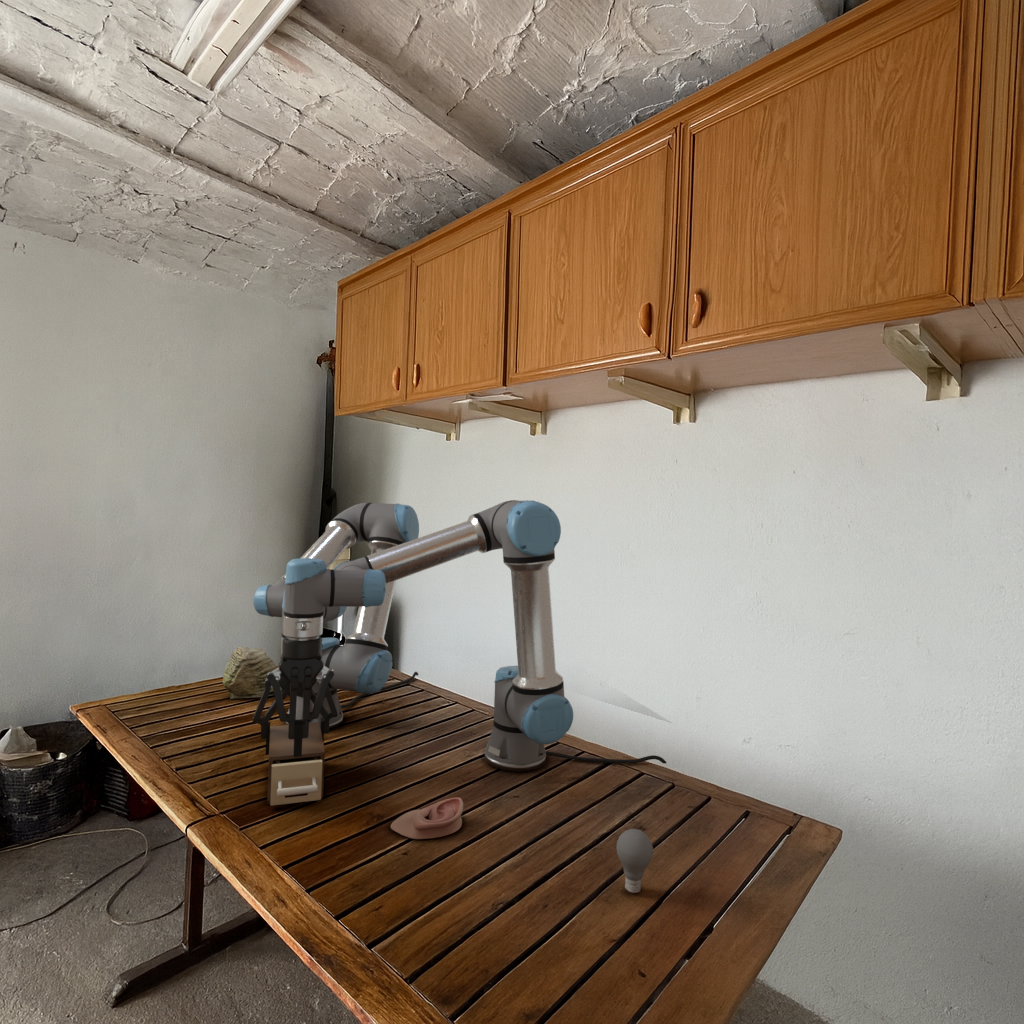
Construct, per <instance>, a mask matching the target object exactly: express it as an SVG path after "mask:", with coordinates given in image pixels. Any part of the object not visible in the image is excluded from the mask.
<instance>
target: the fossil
mask: <svg viewBox="0 0 1024 1024" xmlns="http://www.w3.org/2000/svg"><path fill="white" fill-rule="evenodd" d="M276 668H277V665H276V663H275V662H274V660H273V659H272V658H271V657H270V656H269V655H268V654H267V653H266V652H265V650H264V649H263V648H260V647H258V648H251V647H247V646H246V647H245V646H238V647H237V648H236V649H235V650H233V651H232V653H231V656H230V657H229V659H228V660H227V663H226V666H225V668H224V671H223V675H222V676H223V677H222V685H223V687H224V688H225V690H226V691H228V693H229V698H230V699H250V698H261V696H262V694H263V692H264V689H265V680H266V678H267V673H268V672H269V671H273V670H275V669H276ZM280 689H281V690H282V688H281V687H280ZM271 696H274V691H273V689H271V691H270V694H269V697H271Z"/></svg>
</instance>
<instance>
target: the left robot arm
mask: <svg viewBox="0 0 1024 1024" xmlns="http://www.w3.org/2000/svg"><path fill="white" fill-rule="evenodd" d="M324 530H325V531H324V532H323V533H322V535H321V536H320V537H319V538H318V539H317V540H316V541H315V542H313V544H312V545H311V546H310V547H309V548H308V549H307V550H306V551H305V552H304V554H302V556H300V558H311V559H321V560H324V561H325V563H326V569H330V568H331V567H332V565H333V564H334V563H335V562H336V561H337V560H338V558H339V557H340V556H341V555H342V554H343V553H344V552H345V551H346V550H348V549H351V548H353V547H354V546H355V544H357V543H361V542H367V547H368V548H369V549H370V551H371V552H370V555H371V554H374V553H377V552H380V551H382V550H385V549H388V548H391V547H394V546H397V545H400V544H403V543H406V542H408V541H411V540H414V539H417V538H419V535H420V523H419V518H418V515H417V512H416V510H415V509H414V507H412V506H411V505H408V504H402V503H384V502H383V503H382V502H361V503H357V504H354V505H352V506H349V507H348V508H346V509H344V510H343V511H341V512H339V513H338V514H337V515H336V516H334V518H332V519H331V520H330V521H329V522H328V523H327V525H326V526H325V529H324ZM285 578H286V572H285V573H284V574H283V575H282V576H281V577H280V579H278V581H276V582H275V584H273V585H272V584H266V585H265V584H264V585H261V586H259V587H258V588H257V589H256V591H255V592H254V594H253V599H252V600H253V601H252V604H253V607H254V610H255V612H256V613H258V614H259V615H262V616H268V617H271V618H282V619H281V622H282V623H281V626H282V627H281V637H280V639H281V640H280V654H281V655H282V643H283V639H284V638H285V636H284V635H283V620H284V598H285ZM396 581H397V580H396ZM396 581H393V582H390V583H387V584H386V593H385V599H384V602H383V604H382V605H380V606H369V607H357V608H358V609H357V612H356V613H357V614H356V617H355V622H354V626H353V630H352V633H351V634H350V635H348V636H347V637H346V638H345V642H344V645H340V644H341V643H340V642H341V641H340V639H339V638H337V637H321V638H322V661H323V663H324V666H326V667H327V668H329V669H330V668H331V669H333V671H334V676H333V678H332V679H331V680H330V682H329V684H328V687H327V690H326V694H325V697H324V701H323V704H322V707H321V711H320V714H319V717H318V718H317V719H313V720H311V721H310V722H309V723H320V728H321V733H322V739H323V745H324V743H325V735H327V734H329V732H330V730H332V729H335V728H337V727H339V726H340V725H342V723H343V722H344V714H343V709H345V708H349V707H350V706H352V705H353V704H354V703H355V702H356V701H357V700H359V699H361V698H363V697H365V696H369V695H372V694H376V693H378V692H381V691H385V690H389V689H392V688H396V687H398V686H401V685H404V684H407V683H409V682H410V681H412V680H414V679H415V677H416V676H419V672H418V671H414V672H413V674H412V675H411V677H409V678H406V679H405V680H402V681H400V682H396V683H392V684H390V685H389V684H388V685H386V684H387V682H388V681H389V678H390V676H391V673H392V669H393V655H392V653H391V652H390V651H388V647H389V644H388V643H387V642H386V640H385V635H386V630H387V626H388V620H389V615H390V611H391V606H392V603H393V602H392V601H393V597H394V592H395V587H396ZM346 610H347V606H332V607H324V609H323V623H326V622H332V621H334V620H336V619H337V618H340V617H342V616H343V615H344V614H345V612H346ZM281 660H282V656H280V661H281ZM321 673H322V671H320V673H319V674H318V675H317V677H316V678H315V679H314V680H313V681H312V682H311V692H310V712H311V711H312V710H313V707H314V704H315V700H316V697H317V693H318V690H319V687H320V683H321V680H322V676H321ZM278 681H279V684H280V687H281V688H282V690H281V693H282V698H283V701H285V699H286V698H287V697H290V683H289V682H288V681H287V679H286V678H285V677H284V675H283V674H282V673H280V680H278ZM385 685H386V686H385ZM271 689H273V687H272V685H271V683H270V682H269V681H268V679H267V678H266V680H265V689H264V692H263V694H262V696H261V697H260V699H259V702H258V704H257V706H256V708H255V711H254V714H253V716H252V723H253V724H259V725H260V739H261V740H265V755H266V756H267V755H268V756H269V743H270V726H271V721H270V720H271V718H272V717H273V716H274V714H275V713H276V712H277V711H278V710H277V705H276V701H275V700H274V701H273V702H271V705H270V706H269V707H268V709H267V710H266V712H265V713H264V714H263V716H262V713H263V711H264V708H265V706H266V704H267V701H268V699H269V697H270V696H269V694H270V691H271ZM338 690H339V691H340V690H341V691H347V692H354V693H357V694H358V693H359V694H358V695H357V696H355V697H354V698H352V700H351V701H349V702H348V703H346V704H345V703H344V704H341V702H340V699H339V695H338ZM303 694H304V684H302V683H300V684H297V701H296V720H300V719H303ZM287 713H288V714H289V709H288V711H287ZM285 725H289V724H288V723H287V722H285ZM324 746H325V745H324Z"/></svg>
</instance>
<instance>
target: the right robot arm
mask: <svg viewBox="0 0 1024 1024" xmlns="http://www.w3.org/2000/svg"><path fill="white" fill-rule="evenodd" d="M561 534H562V526H561V522H560V520H559V517H558V515H557V513H556V512H555V511H554V509H552V508H551V507H550V506H548V505H546V504H545V503H543V502H540V501H535V500H517V499H516V500H515V499H513V500H512V499H511V500H506V501H502V502H500V503H498V504H496V505H494V506H491V507H489V508H486V509H484V510H481V511H479V512H477V513H473V514H471V515H469V516H468V519H467V520H466V521H464V522H460V523H458V524H455V525H452V526H449V527H446V528H443V529H441V530H437V531H434V532H431V533H429V534H426V535H423V536H420V537H418V538H417V539H414V540H411V541H408V542H406V543H403V544H400V545H397V546H394V547H391V548H388V549H385V550H382V551H380V552H377V553H374V554H371V553H370V554H368V555H366V556H363V557H360V558H357V559H353V560H345V561H341V562H340V563H339V562H338V564H336V565H335V566H334V568H332V569H330V568H329V569H326V563H325V561H324V560H321V559H311V558H301V557H300V558H293V559H290V560H289V561H288V562H287V563H286V570H285V573H286V578H285V598H284V620H283V635H284V636H285V638H284V639H283V643H282V654H281V657H282V660H281V659H280V662H279V663H278V667H276V669H275V670H273V671H269V672H268V673H267V679H268V681H269V682H270V683H271V685H272V687H273V691H274V695H273V696H274V701H276V705H277V710H276V711H277V714H278V719H279V721H280V722H284V723H286V722H287V723H288V724H289V728H288V738H289V739H294V750H293V754H294V757H302V738H308V734H309V722H310V721H311V720H313V719H317V718H318V717H319V714H320V711H321V707H322V704H323V701H324V697H325V694H326V690H327V687H328V684H329V682H330V680H331V679H332V678H333V676H334V671H333V669H331V668H330V669H329V668H327V667H326V666H324V663H323V661H322V638H323V637H321V636H322V635H323V632H324V631H323V630H324V622H323V609H324V607H332V606H347V607H350V608H351V607H355V608H356V607H357V608H359V607H369V606H380V605H382V604H383V602H384V599H385V593H386V584H387V583H390V582H393V581H398V580H402V579H404V578H407V577H409V576H412V575H414V574H415V575H416V574H418V573H421V572H423V571H426V570H428V569H431V568H435V567H436V566H440V565H443V564H445V563H448V562H451V561H454V560H457V559H460V558H462V557H465V556H467V555H470V554H473V553H476V552H479V553H482V554H486V553H488V552H491V551H495V550H502V560H503V564H504V565H505V566H506V567H507V568H508V569H509V570H510V575H511V577H510V578H511V591H512V604H513V618H514V631H515V644H516V645H515V646H516V657H517V658H516V660H517V665H508V666H507V665H506V666H501V667H499V668H498V669H497V670H496V672H495V679H494V700H493V701H494V703H493V727H492V730H491V733H490V735H489V737H488V741H487V743H486V746H485V749H484V760H485V762H486V764H488V765H489V766H491V767H492V768H495V769H498V770H501V771H505V772H506V771H507V772H513V773H515V772H516V773H523V772H531V771H535V770H538V769H540V768H542V767H543V766H544V765H545V764H546V762H547V756H550V757H555V758H562V759H566V760H572V761H579V762H587V763H588V762H589V763H603V764H604V763H605V764H638V763H643V762H646V761H650V760H651V761H652V760H657V761H659V762H660V763H662V764H667V761H666V759H664V758H663V757H662V756H659V755H653V754H652V755H646V756H643V757H639V758H635V759H633V758H632V759H619V758H617V759H616V758H615V759H614V758H600V757H599V758H598V757H584V756H576V755H570V754H566V753H560V752H553V751H547V750H546V746H545V745H550V744H555V743H556V742H559V741H560V740H561V739H563V738H564V737H565V735H566V734H567V732H569V730H570V729H571V727H572V725H573V721H574V709H573V706H572V703H571V702H570V701H569V699H568V698H567V697H566V696H565V685H564V676H563V675H562V674H561V673H560V672H559V671H557V667H556V653H555V638H554V623H553V610H552V607H553V606H552V595H551V594H552V593H551V579H550V566H552V564H553V562H554V561H555V560H556V555H555V554H556V553H555V551H556V550H555V549H556V546H557V545H558V544H559V542H560V538H561ZM320 671H322V673H321V676H322V680H321V683H320V687H319V690H318V693H317V697H316V700H315V704H314V707H313V710H312V711H311V712H310V692H311V682H312V681H313V680H314V679H315V678H316V677H317V675H318V674H319V673H320ZM280 673H282V674H283V675H284V677H285V678H286V679H287V681H288V682H289V683H290V696H289V706H288V710H289V714H288V712H286V708H285V707H286V706H285V704H284V700H283V698H282V693H281V689H280V684H279V681H278V680H280ZM300 683H302V684H304V694H303V719H300V720H296V701H297V684H300Z"/></svg>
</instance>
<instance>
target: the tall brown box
mask: <svg viewBox="0 0 1024 1024" xmlns="http://www.w3.org/2000/svg"><path fill="white" fill-rule="evenodd" d="M288 728H289V725H286V724H283V725H270V743H269V755H268V772H267V774H268V775H267V798H266V799H267V800H266V801H267V802H266V804H267V805H270V801H271V774H272V764H275V760H285V759H296V758H306V757H317V756H318V760H322V788H321V799H323V798H324V787H325V786H324V784H325V783H324V781H325V780H324V779H325V756H326V755H325V753H326V751H325V745H323V739H322V733H321V728H320V723H309V734H308V738H302V757H294V754H293V750H294V739H289V738H288Z"/></svg>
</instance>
